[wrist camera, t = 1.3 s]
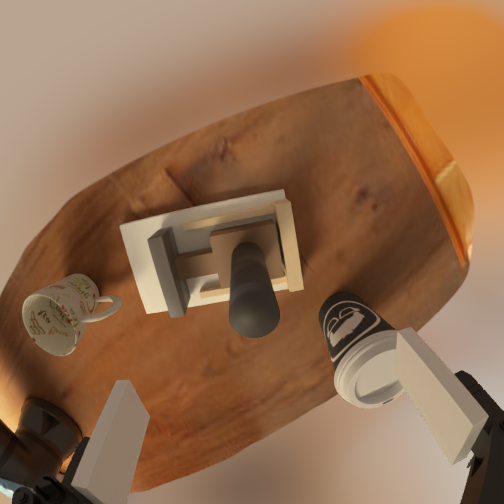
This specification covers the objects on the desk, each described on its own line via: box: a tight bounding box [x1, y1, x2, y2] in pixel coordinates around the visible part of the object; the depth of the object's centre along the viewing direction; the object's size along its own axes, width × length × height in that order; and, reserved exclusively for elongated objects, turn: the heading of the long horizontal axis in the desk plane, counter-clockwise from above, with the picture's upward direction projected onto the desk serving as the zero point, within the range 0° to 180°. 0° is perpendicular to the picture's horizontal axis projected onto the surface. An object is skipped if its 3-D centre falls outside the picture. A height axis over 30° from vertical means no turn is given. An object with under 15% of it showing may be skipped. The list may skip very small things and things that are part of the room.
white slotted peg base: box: [120, 189, 304, 314], centre depth 34 cm, size 20×12×4 cm, turn 101°
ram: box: [147, 219, 284, 338], centre depth 27 cm, size 13×9×16 cm
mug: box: [22, 273, 122, 356], centre depth 32 cm, size 8×13×10 cm, turn 98°
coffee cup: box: [319, 292, 405, 409], centre depth 33 cm, size 10×10×15 cm
